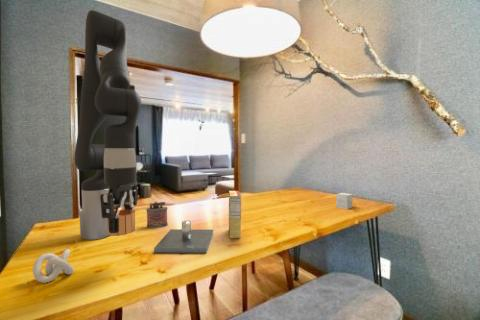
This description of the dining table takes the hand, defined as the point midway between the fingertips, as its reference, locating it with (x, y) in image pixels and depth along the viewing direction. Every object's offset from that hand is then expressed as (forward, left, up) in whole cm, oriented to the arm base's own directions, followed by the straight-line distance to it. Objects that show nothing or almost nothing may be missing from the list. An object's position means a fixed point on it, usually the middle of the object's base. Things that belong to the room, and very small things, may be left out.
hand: (121, 227), depth 62 cm
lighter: (-3, +32, -11) cm, 34 cm away
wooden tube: (0, 0, -1) cm, 1 cm away
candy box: (+29, +24, -11) cm, 40 cm away
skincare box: (+86, +62, -11) cm, 107 cm away
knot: (-14, -5, -11) cm, 18 cm away
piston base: (+13, +16, -11) cm, 23 cm away
